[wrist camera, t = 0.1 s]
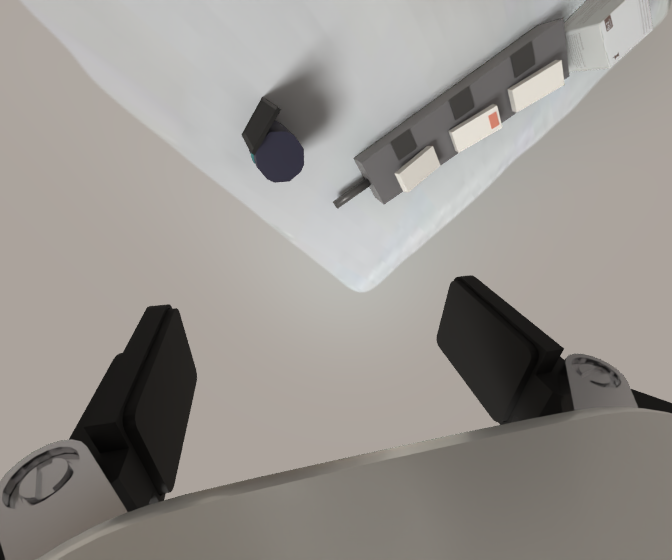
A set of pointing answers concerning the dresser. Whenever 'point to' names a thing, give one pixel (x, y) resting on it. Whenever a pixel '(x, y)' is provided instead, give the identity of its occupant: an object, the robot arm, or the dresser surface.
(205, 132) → the dresser surface
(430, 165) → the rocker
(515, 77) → the power strip
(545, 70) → the block
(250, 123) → the speaker
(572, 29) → the skincare box
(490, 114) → the block
